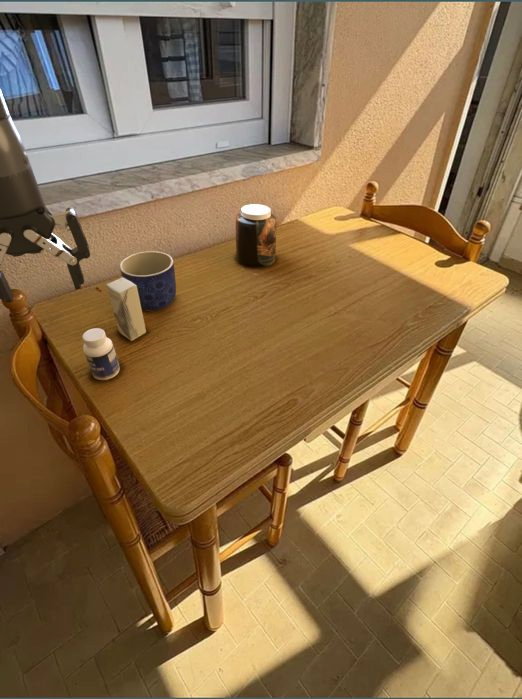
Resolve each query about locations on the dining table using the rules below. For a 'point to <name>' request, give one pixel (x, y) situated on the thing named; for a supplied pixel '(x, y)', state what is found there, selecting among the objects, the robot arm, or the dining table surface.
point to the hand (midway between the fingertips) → (44, 292)
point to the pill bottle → (100, 354)
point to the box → (126, 308)
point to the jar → (255, 236)
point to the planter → (151, 278)
